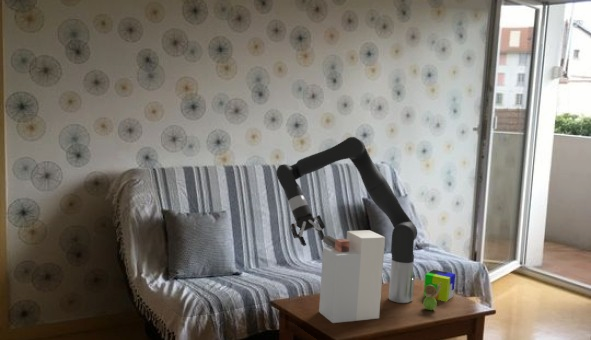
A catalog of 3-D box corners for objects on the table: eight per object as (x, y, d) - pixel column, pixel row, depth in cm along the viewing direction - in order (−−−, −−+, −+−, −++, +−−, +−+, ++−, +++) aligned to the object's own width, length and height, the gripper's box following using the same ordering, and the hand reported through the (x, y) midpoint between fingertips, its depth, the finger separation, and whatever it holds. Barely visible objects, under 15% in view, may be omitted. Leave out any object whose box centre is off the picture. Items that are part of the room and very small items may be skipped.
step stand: (363, 307, 250) (369, 230, 246) (379, 318, 239) (385, 237, 235) (319, 312, 242) (324, 232, 238) (332, 323, 231) (338, 239, 227)
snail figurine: (438, 313, 249) (441, 284, 247) (422, 311, 250) (425, 282, 249) (438, 308, 254) (440, 280, 253) (422, 306, 255) (424, 278, 254)
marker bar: (330, 241, 249) (331, 231, 249) (348, 251, 235) (349, 241, 234) (321, 241, 248) (322, 232, 247) (339, 252, 233) (340, 241, 232)
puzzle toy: (453, 296, 272) (455, 274, 271) (445, 301, 264) (447, 279, 262) (431, 291, 277) (433, 269, 276) (423, 296, 269) (425, 274, 268)
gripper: (311, 206, 272) (325, 240, 268) (282, 215, 267) (296, 250, 262) (316, 200, 265) (331, 235, 261) (287, 209, 260) (301, 245, 256)
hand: (313, 242), depth 262 cm, fingers open, 8 cm apart
